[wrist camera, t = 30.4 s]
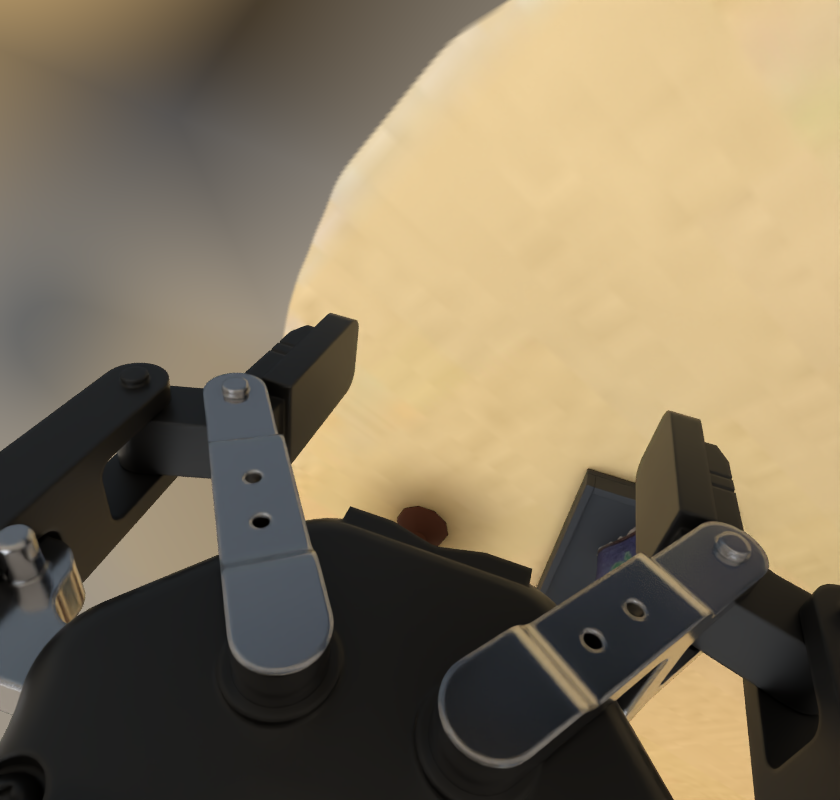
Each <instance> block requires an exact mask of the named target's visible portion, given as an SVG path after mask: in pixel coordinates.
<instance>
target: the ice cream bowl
mask: <svg viewBox="0 0 840 800" xmlns="http://www.w3.org/2000/svg"><path fill="white" fill-rule="evenodd" d="M397 523H398V524H399V525H400V526H402V527H404V528H405V529H407V530H409V531H410V532H412V533H414V534H415V535H417V536H419V537H420V538H422V539H424V540H425V541H427V542H429V543H430V544H432V545H435V546H439V545H440V544H441V543H442V541H443V540H444V539H445V538H446V537H447V536H448V532H447V526H446V522H445V521H444V520H443V519H442V518H441V517H440V516H439V515H438V514H437V513H436V512H435V511H432V510H429V509H426V508H423V507H420V506H415V507H410V508H404V509H403V511H402V512H401V513H400V515H399V516H398V518H397Z"/></svg>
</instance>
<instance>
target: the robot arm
mask: <svg viewBox="0 0 840 800" xmlns="http://www.w3.org/2000/svg"><path fill="white" fill-rule="evenodd" d="M358 329H359V326H358V322H357V320H354V319H350V318H347V317H343V316H340V315H336V314H333V313H329V314H328V315H327V316H326V317H325V318H324V319H322V320H321V321H320V322H319V323H318V324H317V325H316V326H315V327H312V326H309V325H306V326H303V327H301V328H298V329H296V330H293V331H291V332H289V333H288V334H287V335H286V336H285V337H284V338H283V339H282V340H281V341H280V343H277V344H276V345H275V346H274V347H273V348H272V350H271V351H268V353H266V354H265V355H264V356H263V357H262V358H261V359H260V360H258V361H257V362H256V363H255V364H254V365H253V366H252V367H251V368H250V369H249V370H247V371H246V372H245V373H229V374H223V375H220V376H217V377H215V378H213V379H212V380H210V381H209V382H207V383H206V385H205V386H204V388H191V387H179V386H170V383H169V376H168V373H167V372H166V371H165V370H164V369H163V368H161V367H159V366H157V365H154V364H148V363H131V364H125V365H121V366H118V367H116V368H114V369H111V370H110V371H108V372H107V373H105V374H104V375H103V376H102V377H100V378H99V379H97V380H96V381H95V382H93V383H92V384H91V385H89V386H88V387H87V388H85V389H84V390H83V391H81V392H80V393H79V394H77V395H76V396H74V397H73V398H72V399H70V400H69V401H68V402H67V403H65V404H64V405H62V406H61V407H60V408H58V409H57V410H56V411H54V412H53V413H52V414H50V415H49V416H48V417H46V418H45V419H44V420H42V421H41V422H39V423H38V424H37V425H35V426H34V427H33V428H31V429H30V430H29V431H27V432H26V433H25V434H23V435H22V436H21V437H20V438H18V439H17V440H15V441H14V442H13V443H11V444H10V445H9V446H7V447H6V448H4V449H3V450H2V451H0V711H2V712H5V713H8V714H11V715H13V716H12V718H11V720H10V723H9V725H8V728H7V729H6V731H5V733H4V735H3V737H2V739H1V741H0V800H674V799H673V798H672V796H671V794H670V792H669V791H668V789H667V787H666V785H665V784H664V782H663V780H662V779H661V777H660V775H659V773H658V772H657V770H656V768H655V766H654V765H653V763H652V761H651V759H650V758H649V756H648V754H647V753H646V751H645V749H644V747H643V746H642V744H641V742H640V740H639V739H638V737H637V735H636V733H635V732H634V730H633V728H632V726H631V725H630V723H629V722H630V721H631V720H632V719H633V718H634V716H635V715H636V714H637V713H638V712H639V711H640V710H641V709H642V708H643V707H644V706H645V704H646V703H647V702H648V701H649V700H650V699H651V698H652V697H654V696H655V695H656V694H657V693H658V692H659V691H660V690H661V689H662V688H664V687H665V686H666V685H667V684H668V683H669V682H670V681H671V680H673V679H674V678H675V677H676V676H677V675H678V674H679V673H680V672H682V671H683V670H684V669H685V668H686V667H687V666H688V665H689V664H691V663H692V662H693V661H694V660H695V659H696V658H697V657H698V656H700V655H701V654H702V653H705V654H706V655H708V656H710V657H711V658H713V659H714V660H716V661H717V662H719V663H720V664H722V665H724V666H725V667H727V668H728V669H730V670H731V671H733V672H734V673H736V674H738V675H739V676H741V677H742V678H743V686H744V696H745V706H746V716H747V726H748V736H749V746H750V756H751V765H752V775H753V785H754V795H755V800H840V585H835V584H826V585H822V586H820V587H819V588H817V589H816V590H815V592H814V593H813V594H810V593H808V592H806V591H805V590H803V589H801V588H799V587H797V586H796V585H794V584H792V583H790V582H788V581H787V580H785V579H783V578H781V577H780V576H778V575H776V574H775V573H773V572H772V571H771V570H769V569H768V568H769V561H768V557H767V555H766V553H765V551H764V550H763V548H762V547H761V546H760V545H759V544H758V543H757V542H756V541H755V540H754V539H753V538H752V537H751V536H750V535H748V534H747V533H745V532H744V530H743V525H742V521H741V516H740V511H739V507H738V502H737V498H736V493H734V490H735V488H734V484H733V480H731V478H732V475H731V470H730V465H729V462H728V460H727V459H726V458H725V456H724V455H723V453H722V452H721V451H720V449H719V448H718V447H717V446H716V445H713V444H709V443H706V442H704V436H703V430H702V424H701V421H700V419H697V418H693V417H690V416H686V415H683V414H679V413H676V412H672V411H667V412H666V413H665V414H664V415H663V417H662V419H661V421H660V423H659V425H658V427H657V429H656V431H655V433H654V435H653V437H652V439H651V441H650V443H649V445H648V447H647V449H646V451H645V453H644V455H643V457H642V459H641V461H640V464H639V467H638V471H637V475H636V555H635V556H633V557H632V558H630V559H629V560H627V561H626V562H624V563H623V564H621V565H619V566H618V567H616V568H615V569H613V570H612V571H610V572H609V573H607V574H605V575H604V576H602V577H601V578H599V579H598V580H596V581H595V582H593V583H592V584H590V585H588V586H587V587H585V588H584V589H582V590H581V591H579V592H578V593H576V594H575V595H573V596H571V597H570V598H568V599H567V600H565V601H564V602H562V603H561V604H559V605H556V604H555V603H554V602H553V601H552V600H551V599H550V598H549V597H548V596H546V595H545V594H544V593H542V592H541V591H540V590H538V589H537V588H535V587H534V586H532V585H531V584H530V578H531V573H532V569H531V568H528V567H525V566H522V565H519V564H516V563H513V562H511V561H508V560H505V559H502V558H499V557H496V556H493V555H490V554H487V553H482V552H475V551H467V550H459V549H452V548H444V547H438V546H435V545H432V544H430V543H429V542H427V541H425V540H424V539H422V538H420V537H419V536H417V535H415V534H414V533H412V532H410V531H409V530H407V529H405V528H404V527H402V526H400V525H399V524H397V523H395V522H394V521H391V520H388V519H386V518H383V517H380V516H377V515H374V514H371V513H368V512H365V511H362V510H359V509H356V508H354V507H351V506H350V508H349V509H348V511H347V513H346V515H345V516H344V518H343V519H338V518H322V519H313V520H307V521H305V518H304V514H303V510H302V506H301V502H300V498H299V494H298V490H297V486H296V482H295V478H294V474H293V470H292V466H291V464H292V462H293V461H294V460H295V459H296V457H297V456H298V455H299V453H300V452H301V451H302V450H303V448H304V447H305V446H306V444H307V443H308V442H309V440H310V439H311V438H312V437H313V435H314V434H315V433H316V431H317V430H318V429H319V428H320V426H321V425H322V424H323V422H324V421H325V420H326V419H327V417H328V416H329V415H330V413H331V412H332V411H333V409H334V408H335V407H336V406H337V404H338V403H339V402H340V400H341V399H342V398H343V397H344V395H345V394H346V393H347V391H348V389H349V387H350V385H351V383H352V380H353V376H354V372H355V362H356V351H357V340H358ZM116 452H117V454H116V455H115V456H113V455H114V454H115V453H116ZM112 456H113V458H111V457H112ZM110 458H111V459H110ZM109 459H110V460H109ZM108 460H109V461H108ZM177 476H183V477H197V478H210V479H211V480H212V491H213V500H214V511H215V521H216V532H217V542H218V552H219V555H216V556H214V557H212V558H209V559H207V560H204V561H202V562H199V563H197V564H195V565H192V566H190V567H187V568H185V569H182V570H180V571H178V572H175V573H173V574H170V575H168V576H165V577H163V578H160V579H158V580H156V581H153V582H151V583H148V584H146V585H144V586H141V587H139V588H136V589H134V590H131V591H129V592H127V593H124V594H122V595H119V596H117V597H114V598H112V599H109V600H107V601H104V602H102V603H100V604H98V605H96V606H94V607H92V608H90V609H88V610H87V611H85V612H83V613H82V614H80V615H78V614H79V612H80V611H81V609H82V607H83V604H84V601H85V590H84V586H83V582H84V581H85V580H86V579H87V578H88V577H89V575H90V574H91V573H92V572H93V571H94V570H95V569H96V568H97V566H98V565H99V564H100V563H101V562H102V561H103V560H104V559H105V557H106V556H107V555H108V554H109V553H110V552H111V550H112V549H113V548H114V547H115V546H116V545H117V544H118V543H119V542H120V541H121V539H122V538H123V537H124V536H125V535H126V534H127V533H128V532H129V530H130V529H131V528H132V527H133V526H134V525H135V524H136V523H137V521H138V520H139V519H140V518H141V517H142V516H143V515H144V514H145V513H146V511H147V510H148V509H149V508H150V507H151V506H152V505H153V504H154V502H155V501H156V500H157V499H158V498H159V497H160V495H162V493H163V492H164V491H165V490H166V489H167V488H168V487H169V485H170V484H171V483H172V482H173V481H174V480H175V479H176V478H177ZM77 615H78V616H77Z"/></svg>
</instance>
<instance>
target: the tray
mask: <svg viewBox="0 0 840 800" xmlns="http://www.w3.org/2000/svg"><path fill="white" fill-rule="evenodd" d="M634 527H636V483H633V482H629V481H626V480H623V479H620V478H617V477H613V476H610V475H607V474H604V473H600V472H597V471H594V470H591V469H588V470H587V472H586V475H585V477H584V479H583V482H582V484H581V486H580V488H579V491H578V493H577V495H576V498H575V500H574V502H573V505H572V507H571V509H570V512H569V514H568V516H567V519H566V521H565V523H564V525H563V528H562V530H561V532H560V535H559V537H558V539H557V542H556V544H555V546H554V549H553V551H552V553H551V556H550V558H549V560H548V562H547V565H546V567H545V569H544V572H543V574H542V576H541V579H540V581H539V583H538V586H537V589H538V590H540V591H541V592H542V593H544V594H545V595H546V596H548V597H549V598H550V599H551V600H552V601H553V602H554V603H555V604H556V605H559V604H561V603H562V602H564V601H565V600H567V599H568V598H570V597H571V596H573V595H575V594H576V593H578V592H579V591H581V590H582V589H584V588H585V587H587V586H588V585H590V584H592V583H593V582H595V579H596V572H597V556H596V555H597V554H598V549H599V547H601V546H604V545H607V544H608V543H610V542H615V541H616V540H618V539H619V537H620V536H622V537H624V536H627V534H628V533H629V531H630V530H631V529H633V528H634Z"/></svg>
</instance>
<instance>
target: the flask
mask: <svg viewBox="0 0 840 800" xmlns="http://www.w3.org/2000/svg"><path fill="white" fill-rule="evenodd" d="M635 555H636V527H634V528H633V529H631V530H630V531H629V533H628V534H627V536H624V537H622V536H620V537H619V539H618V540H616V541H615V542H610V543H608V544H607V545H604V546H601V547H599V549H598V554H597V555H596V556H597V572H596V579H595V581H596V580H598V579H599V578H601V577H602V576H604V575H605V574H607V573H609V572H610V571H612V570H613V569H615V568H616V567H618V566H619V565H621V564H623V563H624V562H626V561H627V560H629V559H630V558H632V557H633V556H635Z"/></svg>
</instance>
